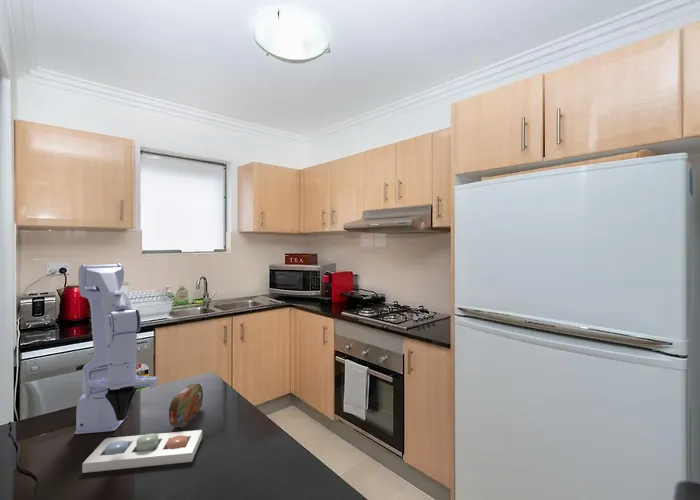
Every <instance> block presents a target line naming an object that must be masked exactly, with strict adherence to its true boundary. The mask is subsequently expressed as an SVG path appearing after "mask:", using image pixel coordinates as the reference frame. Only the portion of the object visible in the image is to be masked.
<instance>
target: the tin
mask: <svg viewBox="0 0 700 500" xmlns="http://www.w3.org/2000/svg"><path fill="white" fill-rule="evenodd" d="M203 395H204V393H203V387H202V385H201V384H200V383H196V384H194V383H193V384H188V385H186V387H184V388H183V389H181V391H180V392H178V393H177V394H175V396H174V397H173V399H172V400H171V402H170V403H169V404H170V405H169V408H168V420H169V424H170V426H171V427H172V428H185V427H186V426H187V425H188V424H189V422H190V421H191V420H193V418H194V417H196V415H197V414H198V413H199V411H200V409H201V408H202V404H203V397H204V396H203Z"/></svg>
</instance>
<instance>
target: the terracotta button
mask: <svg viewBox="0 0 700 500" xmlns="http://www.w3.org/2000/svg"><path fill="white" fill-rule="evenodd" d="M187 440H188V438H187V437H186V436H184V435H179V436H175V437H172V438H170V439H169V440H168V441H167V449H174V448H185V447H186V446H187Z"/></svg>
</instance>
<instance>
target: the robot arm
mask: <svg viewBox="0 0 700 500" xmlns="http://www.w3.org/2000/svg"><path fill="white" fill-rule="evenodd" d="M77 277H78V289H79V293H80V297H82V298H86V299H87V300H88V303H89V308H90V318H91V333H92V343H93V344H92V346H93V358H92V359H91V360H89V361H88V362H86V364H84V365H83V367H82V370H81V374H82V375H81V391H82V395H81V396H80V397H79V399H78V401H77V404H76V409H75V410H76V411H75V412H76V414H75V415H76V416H75V417H76V418H75V420H76V421H75V422H76V426H75V432H74V435H80V434H91V433H93V434H94V433H104V432H114V431H116V430H117V429H118V428H119V427H120V426H121V425H122V424H123V422H124V421H125V420H126V419H127V418H128V417H129V416H128V414H129V408H130V406H131V402H132V400H133V398H134V396H135V394H136V392H137V390H138V388H149V389H150V388H152V389H153V388H155V387H156V386H157V385H158V376H147V375H137V371H138V370H137V365H138V364H137V362H138V360H137V359H138V357H137V355H138V353H137V352H138V351H137V350H138V348H137V347H138V345H137V344H138V342H137V341H138V339H137V338H138V334H137V333H139V332H140V330H141V325H142V324H141V323H142V321H141V314H140V310H139V309H138V308H136V307H134V306H132V304H131V302H130V300H129V297H128V295H127V294H126V293H125V292H123V291H121V288H122V284H123V282H124V279H125V278H124V277H125V271H124V267H123V265H122V264H121V263H110V264H109V263H108V264H107V263H106V264H81V265H80V266H79V268H78V276H77Z"/></svg>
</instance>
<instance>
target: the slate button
mask: <svg viewBox="0 0 700 500" xmlns="http://www.w3.org/2000/svg"><path fill="white" fill-rule="evenodd" d="M127 448H128V442H127V441H117V442H113V443H111V444H109V445H108V446H106V448H105V455H112V454H122V453H124V452H125V451H126V450H127Z"/></svg>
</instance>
